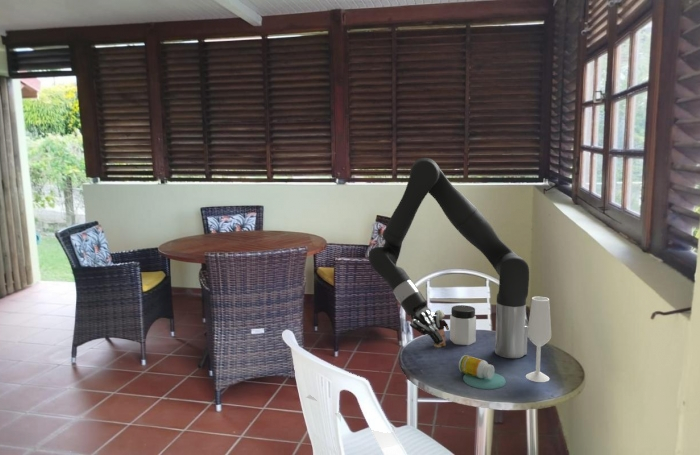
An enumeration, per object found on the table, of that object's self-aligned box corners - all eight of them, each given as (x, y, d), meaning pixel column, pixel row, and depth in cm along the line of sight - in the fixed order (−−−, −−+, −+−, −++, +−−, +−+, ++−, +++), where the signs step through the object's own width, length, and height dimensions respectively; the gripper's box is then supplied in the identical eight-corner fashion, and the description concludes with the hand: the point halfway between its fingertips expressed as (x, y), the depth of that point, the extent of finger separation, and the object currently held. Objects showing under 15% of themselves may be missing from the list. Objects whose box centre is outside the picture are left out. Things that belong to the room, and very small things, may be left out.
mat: (489, 369, 167) (489, 368, 167) (514, 385, 156) (514, 384, 156) (455, 375, 163) (455, 374, 163) (478, 391, 152) (478, 390, 152)
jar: (460, 335, 199) (461, 303, 197) (479, 340, 193) (480, 308, 191) (445, 341, 192) (445, 308, 191) (464, 347, 187) (465, 313, 185)
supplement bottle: (469, 354, 167) (497, 362, 160) (466, 371, 166) (494, 380, 160) (459, 354, 163) (488, 363, 156) (456, 372, 163) (485, 381, 156)
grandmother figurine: (441, 341, 192) (442, 306, 190) (450, 344, 189) (450, 309, 188) (427, 347, 187) (427, 311, 185) (436, 350, 184) (436, 313, 183)
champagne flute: (529, 371, 166) (532, 294, 163) (552, 376, 162) (555, 297, 159) (522, 378, 161) (525, 299, 157) (545, 384, 157) (549, 303, 153)
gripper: (403, 294, 169) (434, 342, 163) (428, 287, 179) (459, 331, 172) (390, 307, 174) (420, 354, 167) (415, 299, 183) (445, 343, 176)
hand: (440, 342), depth 169 cm, fingers closed
